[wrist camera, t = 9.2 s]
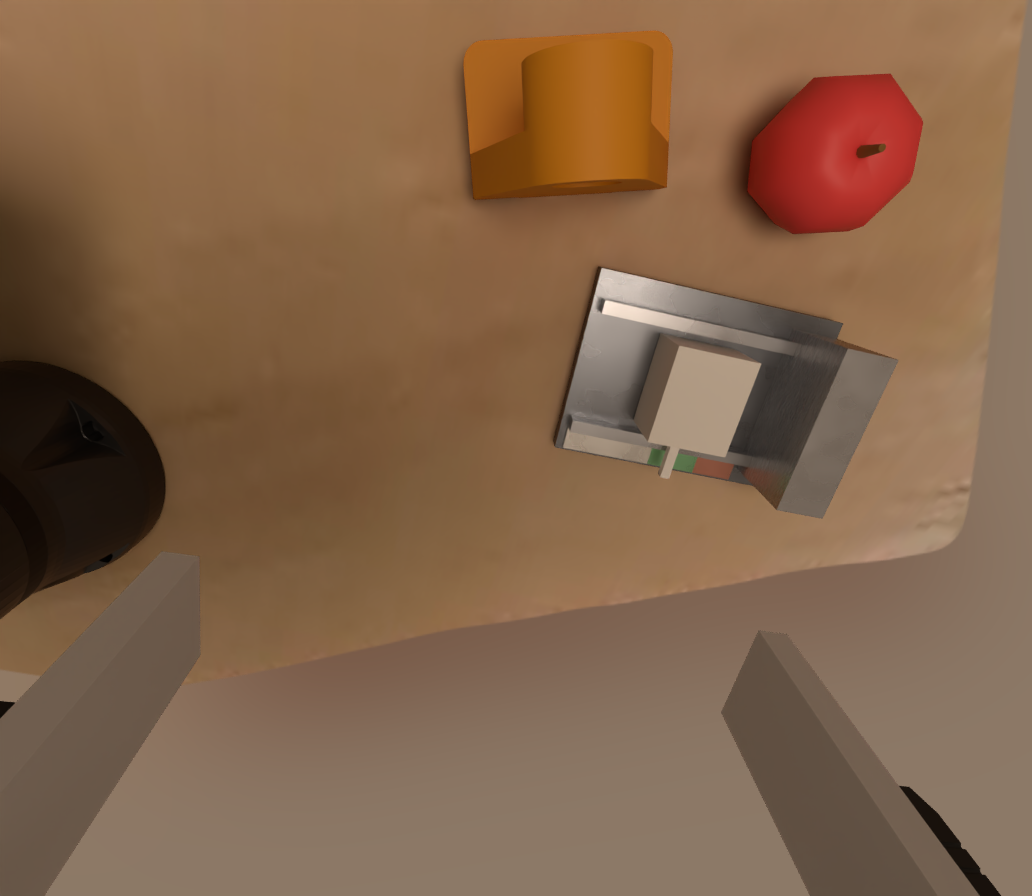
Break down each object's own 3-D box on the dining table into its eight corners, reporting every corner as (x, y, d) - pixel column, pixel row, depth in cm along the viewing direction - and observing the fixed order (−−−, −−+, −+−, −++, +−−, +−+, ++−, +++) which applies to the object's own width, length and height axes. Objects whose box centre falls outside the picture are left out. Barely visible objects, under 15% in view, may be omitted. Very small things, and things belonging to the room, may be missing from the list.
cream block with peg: (621, 457, 38) (634, 483, 34) (660, 332, 35) (679, 345, 31) (689, 471, 39) (709, 497, 35) (734, 349, 35) (761, 363, 32)
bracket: (659, 45, 30) (750, -59, 19) (654, 189, 33) (730, 172, 22) (465, 56, 30) (443, -41, 19) (475, 200, 33) (461, 187, 22)
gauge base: (553, 440, 39) (563, 485, 32) (598, 266, 35) (621, 276, 28) (764, 481, 41) (815, 532, 34) (832, 320, 36) (907, 342, 30)
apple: (847, 59, 31) (957, 6, 23) (875, 200, 34) (982, 193, 26) (711, 128, 32) (775, 98, 24) (749, 259, 35) (817, 268, 27)
